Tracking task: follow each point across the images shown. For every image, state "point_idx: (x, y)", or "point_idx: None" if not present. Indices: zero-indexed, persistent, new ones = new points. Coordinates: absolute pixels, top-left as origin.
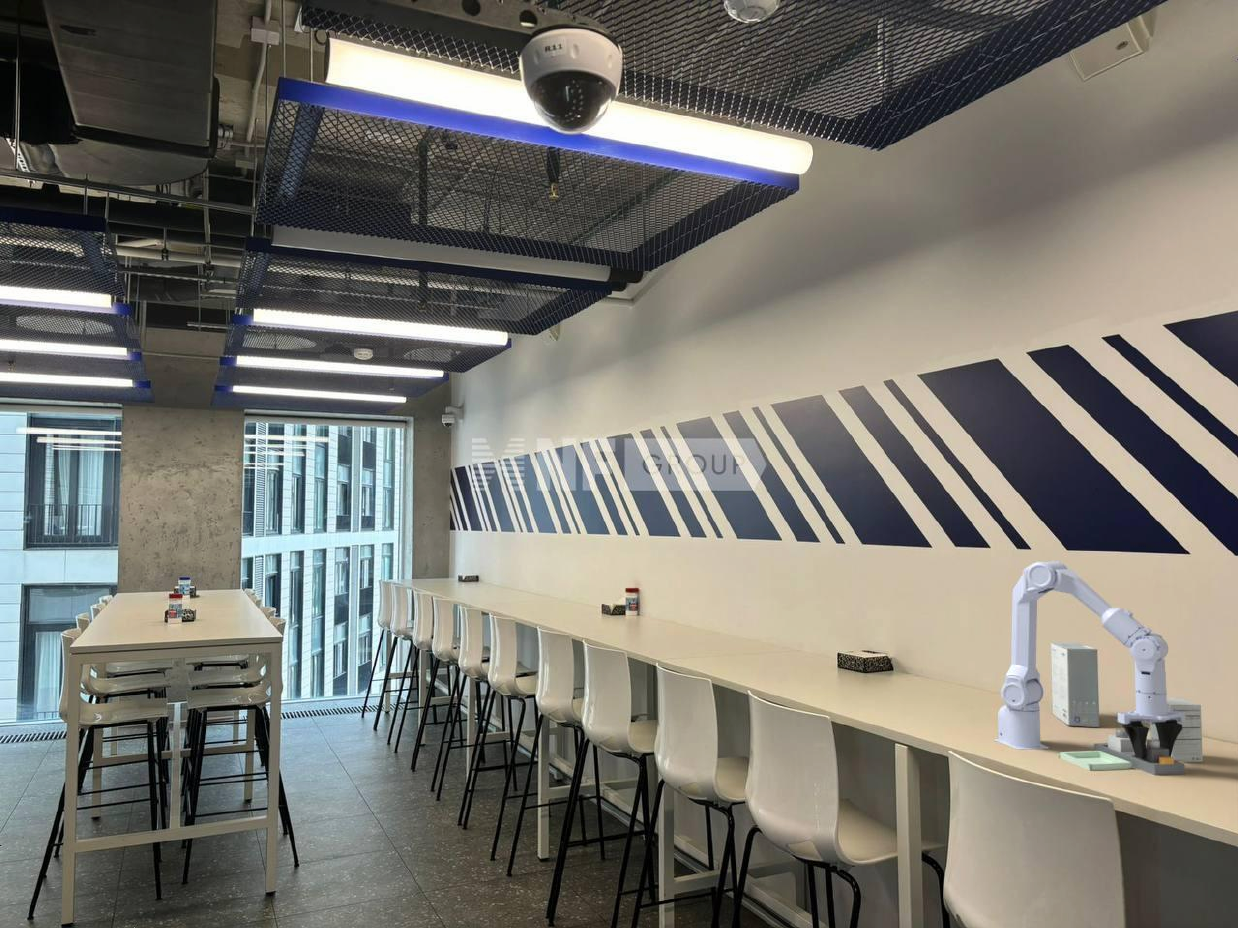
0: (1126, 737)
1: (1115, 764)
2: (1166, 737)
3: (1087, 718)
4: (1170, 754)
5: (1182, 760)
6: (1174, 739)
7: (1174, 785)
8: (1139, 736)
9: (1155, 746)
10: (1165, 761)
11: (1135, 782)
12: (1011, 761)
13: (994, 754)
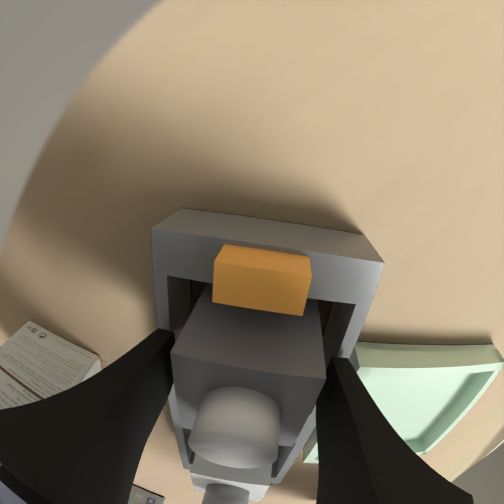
0: (224, 486)
1: (433, 363)
2: (120, 431)
3: (135, 497)
4: (154, 336)
5: (70, 346)
6: (84, 390)
7: (396, 91)
8: (426, 466)
9: (257, 402)
10: (294, 262)
11: (499, 205)
12: (497, 421)
13: (466, 452)
